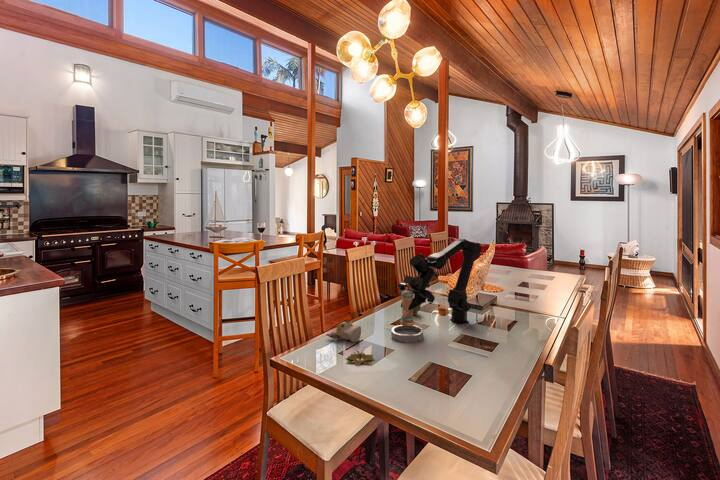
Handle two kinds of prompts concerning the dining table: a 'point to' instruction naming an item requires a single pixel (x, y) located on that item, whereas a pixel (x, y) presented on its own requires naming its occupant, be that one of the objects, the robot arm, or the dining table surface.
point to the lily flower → (359, 356)
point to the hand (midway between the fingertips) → (405, 308)
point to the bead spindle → (407, 314)
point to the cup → (416, 309)
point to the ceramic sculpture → (346, 332)
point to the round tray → (407, 333)
